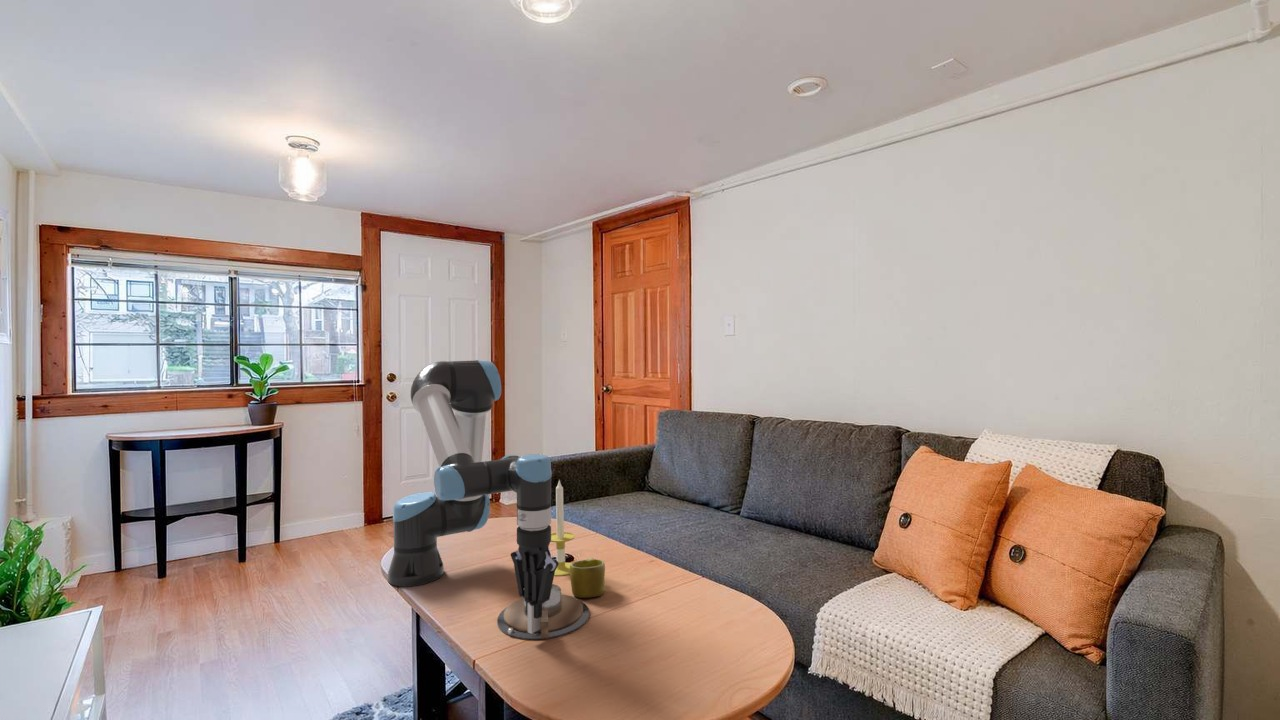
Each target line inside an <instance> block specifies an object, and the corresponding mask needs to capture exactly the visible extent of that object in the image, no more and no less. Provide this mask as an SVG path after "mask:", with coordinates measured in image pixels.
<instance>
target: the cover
mask: <svg viewBox="0 0 1280 720" xmlns="http://www.w3.org/2000/svg"><path fill="white" fill-rule="evenodd" d="M561 594H562V589H561V586H559V585H557V584H554V583H553V584H552V589H551V594H550V599H549V600H548V601H546V602H544V603H542V610H548V618H549V617H552V616H555V615H557V614H558V613H559V612H560V611H561V609H562V603H561ZM524 614H525V615H526V616H527V617H528V615H527V614H526V601H525V599H524ZM540 619H541V617H540Z"/></svg>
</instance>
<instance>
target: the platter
mask: <svg viewBox="0 0 1280 720" xmlns="http://www.w3.org/2000/svg"><path fill="white" fill-rule="evenodd" d="M579 600H580V599H578V598H577V597H575V596H574V597H573V596H570V595H567V594H562V593H561V603H562V609H561V611H560V612H559V613H558V614H557V615H555V616H552V617H549V618H548V610H542V616H541V619H540V629H539V630H537V631H536V632H541V638H549V633H548V631H553V630H558V629H561V628H564V627H567V626H569V625H571V624H573V623H575V622H576V621H577V620H578V619H580V617H581V616H582V614H583V605H582V603H581V602H580V601H581V600H580V601H579ZM505 608H506V610H505V612H504V621H505V623H506V624H507V625H508V626H509V627H511V628H513V629H515V630H519V631H523V632H528V617H527V616H526V615H525V614H524V597H522V598H521V599H518V600H515V601H514V602H512V603H511V604H510V605H508V606H507V607H505ZM549 639H550V638H549Z"/></svg>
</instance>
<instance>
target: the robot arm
mask: <svg viewBox="0 0 1280 720" xmlns="http://www.w3.org/2000/svg"><path fill="white" fill-rule="evenodd" d="M499 373H500V372H499V370H498V368H497V366H496V365H495V364H494V363H493V362H492V361H489V360H479V359H476V360H456V361H455V360H451V361H450V360H449V361H446V360H444V361H443V360H442V361H436V362H432V363H430V364H428V365H426V366H424V368H422V369H421V370H420V371H419V372H418V374H417V375H416V376H415V378H414V380H413V381H412V384H411V388H410V399H411V404H412V406H413V408H414V409H415V411H416V412H417V413H419V414H420V416H421V419H422V422H423V425H424V427H425V431H426V433H427V437H428V440H429V442H430V445H431V447H432V450H433V453H434V455H435V459H436V461H437V464H438V467H437V468H436V469H435V470H434V475H433V486H434V491H435V492H432V491H428V492H427V491H426V492H419V493H413V494H410V495H407V496H405V497H402V498H400V499H399V500H397V501H396V502H395V503H394V505H393V512H392V514H393V515H392V522H393V556H392V558H391V562H390V565H389V568H388V572H387V582H388V583H389V584H390V585H391V586H392V585H393V586H397V587H414V586H421V585H424V584H425V585H426V584H428V583H431V582H432V583H433V582H434V581H436V580H439V579H440V578H442V576H443V575H444V574H445V570H444V569H445V567H444V563H443V560H442V557H441V554H440V552H439V549H438V541H437V540H438V537H445V536H450V535H454V534H462V533H465V532H467V533H468V532H469V533H470V532H471V533H472V532H473V531H476V530H480V529H482V528H483V527H484V526H485V525H486V524H487V522H488V520H489V517H490V512H491V506H490V502H491V501H490V495H493V494H501V493H506V492H515V493H516V525H517V528H516V544H517V545H518V549H517V550H516V551H512V552H511V553H510V557H511V561H512V563H513V567H514V571H515V579H516V580H515V581H516V584H517V591H518V596H519V597H520V598H524V599H525V601H526V614H527V615H528V633H531V634H532V633H534V632H536V631H537V630H539V629H540V617H541V616H542V603H544V602H546V601H548V600H549V599H550V594H551V589H552V584H554V579H555V578H554V577H555V576H554V574H555V570H556V568H557V567H558V561H557V560H553V559H552V558H551V551H550V549H549V546H550V543H552V542H551V534H552V525H551V524H552V476H553V471H552V463H551V458H550V457H549V456H548V455H544V454H538V453H537V454H535V453H533V454H531V453H530V454H525V455H521V456H519V455H515V454H514V455H513V454H508V455H505V456H502V457H501V458H500V459H494V460H488V461H487V460H485V461H483V454H484V440H485V430H486V419H487V418H486V417H487V413H490V411H491V410H492V408H493V403H494V402H496V401H499V399H500V397H501V395H502V382H501V376H500V374H499ZM493 401H494V402H493Z"/></svg>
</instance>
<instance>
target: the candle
mask: <svg viewBox="0 0 1280 720" xmlns="http://www.w3.org/2000/svg"><path fill="white" fill-rule="evenodd" d="M555 510H556V515H555V516H556V517H555V518H556V521H555V522H556V532H551V542H550V543H555V544H556V545H555V547H556V549H555V550H556V561H558V567H557V568H556V570H555V574H554V577H564V576H570V564H571V563H572V562H566V542H570V541H573V540H574V539H575V537H576V535H575V534H574V533H573V532H568V531H565V526H564V525H565V523H564V522H565V521H564V520H565V519H564V516H565V515H564V514H565V513H564V511H565V510H564V487H563V486H562V484H561V480H560V479H558V483H557V486H556V487H555Z"/></svg>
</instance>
